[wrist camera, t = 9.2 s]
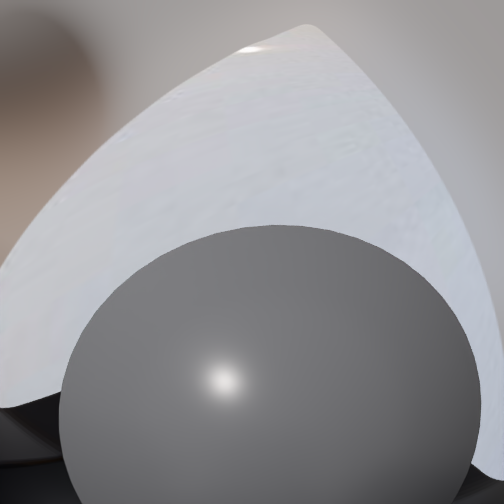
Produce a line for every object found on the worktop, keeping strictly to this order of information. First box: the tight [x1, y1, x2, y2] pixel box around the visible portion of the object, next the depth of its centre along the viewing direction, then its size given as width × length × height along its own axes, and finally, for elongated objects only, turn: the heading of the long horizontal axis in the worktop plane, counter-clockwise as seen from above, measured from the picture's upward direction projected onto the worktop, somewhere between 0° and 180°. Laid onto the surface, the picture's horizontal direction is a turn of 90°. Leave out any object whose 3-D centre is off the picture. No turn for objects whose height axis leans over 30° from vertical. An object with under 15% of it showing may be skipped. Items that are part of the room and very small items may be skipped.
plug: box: [59, 225, 481, 504], centre depth 7 cm, size 5×5×12 cm
